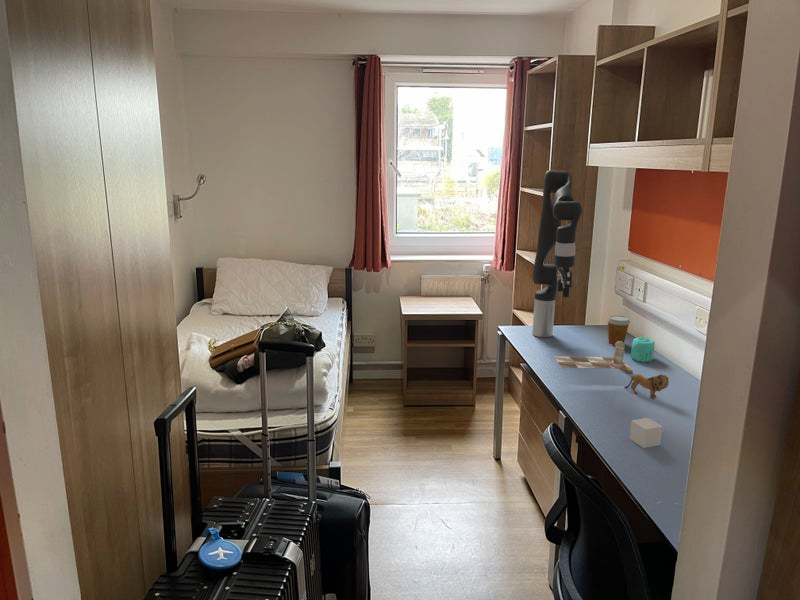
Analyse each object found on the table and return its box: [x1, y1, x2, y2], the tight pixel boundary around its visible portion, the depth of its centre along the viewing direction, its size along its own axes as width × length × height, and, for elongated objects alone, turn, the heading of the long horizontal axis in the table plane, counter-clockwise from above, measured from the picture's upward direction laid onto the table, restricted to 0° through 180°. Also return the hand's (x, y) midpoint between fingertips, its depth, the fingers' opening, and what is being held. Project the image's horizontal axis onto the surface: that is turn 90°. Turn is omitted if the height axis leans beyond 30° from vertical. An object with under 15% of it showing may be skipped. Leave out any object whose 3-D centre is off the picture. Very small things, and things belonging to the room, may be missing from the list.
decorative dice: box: [630, 337, 655, 363], centre depth 241 cm, size 8×8×8 cm
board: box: [553, 355, 633, 374], centre depth 233 cm, size 15×28×1 cm, turn 89°
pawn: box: [611, 341, 626, 368], centre depth 229 cm, size 5×5×10 cm
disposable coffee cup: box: [606, 314, 631, 346], centre depth 259 cm, size 10×10×12 cm
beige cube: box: [629, 417, 663, 449], centre depth 172 cm, size 6×6×6 cm
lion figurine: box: [624, 373, 670, 401], centre depth 205 cm, size 15×5×9 cm, turn 49°
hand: (562, 294), depth 231 cm, fingers open, 8 cm apart
